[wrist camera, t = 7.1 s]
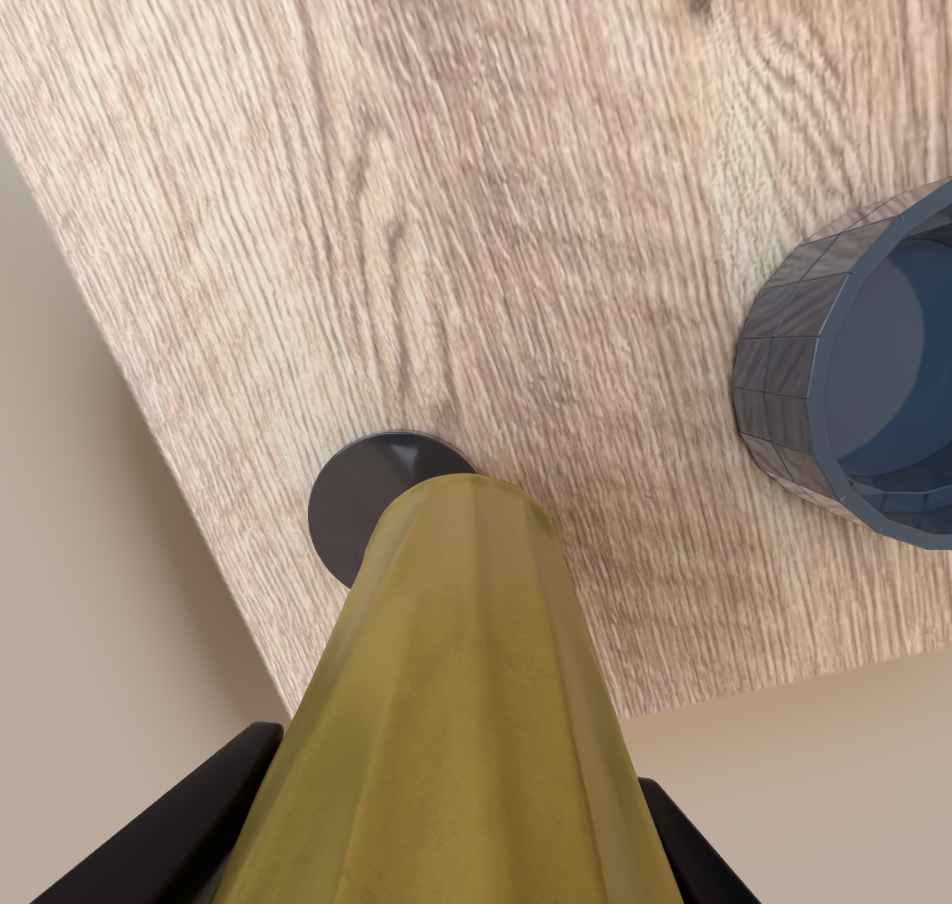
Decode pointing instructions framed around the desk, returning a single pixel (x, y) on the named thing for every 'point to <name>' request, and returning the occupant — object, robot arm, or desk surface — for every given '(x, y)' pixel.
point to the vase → (454, 731)
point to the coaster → (371, 491)
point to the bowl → (859, 369)
